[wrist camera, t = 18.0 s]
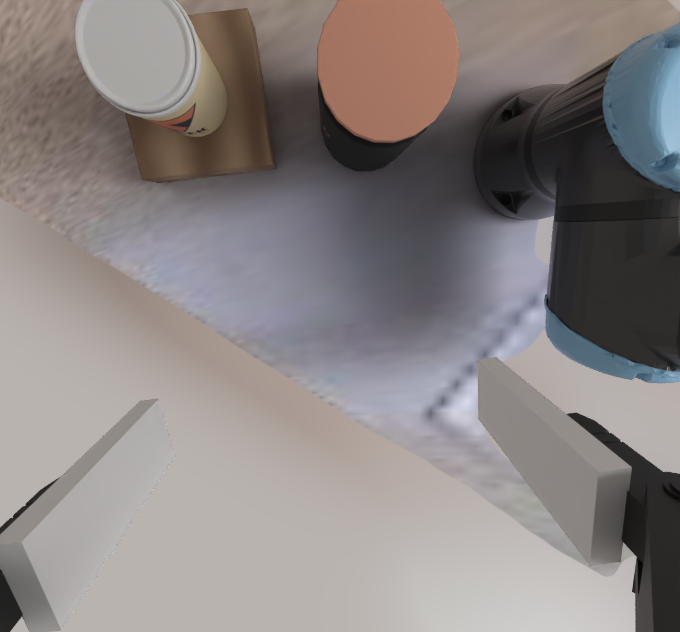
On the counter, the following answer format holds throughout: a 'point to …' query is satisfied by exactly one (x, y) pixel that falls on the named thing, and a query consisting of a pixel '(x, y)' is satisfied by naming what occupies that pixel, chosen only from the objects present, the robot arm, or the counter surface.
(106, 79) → the coffee cup
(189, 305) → the counter surface
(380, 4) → the coffee jar
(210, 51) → the walnut riser
